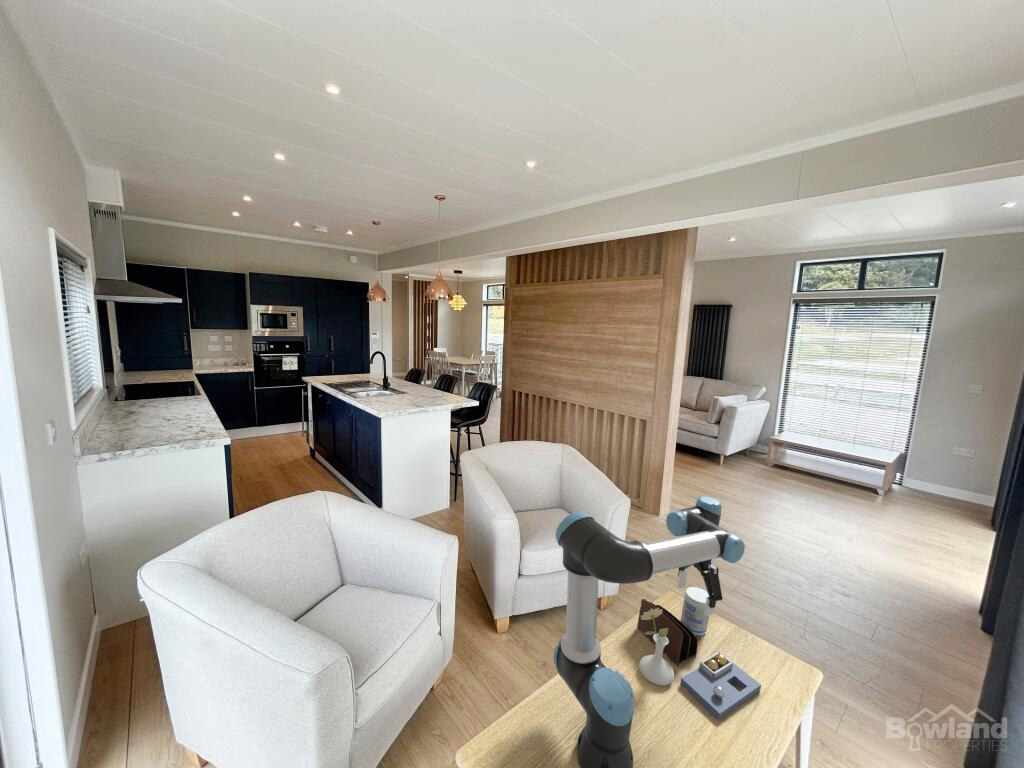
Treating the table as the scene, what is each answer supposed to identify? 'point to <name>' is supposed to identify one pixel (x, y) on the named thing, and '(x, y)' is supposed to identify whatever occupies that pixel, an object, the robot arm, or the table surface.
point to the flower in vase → (656, 655)
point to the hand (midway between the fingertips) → (694, 600)
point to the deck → (705, 681)
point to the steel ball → (718, 691)
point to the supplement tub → (695, 610)
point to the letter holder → (670, 634)
